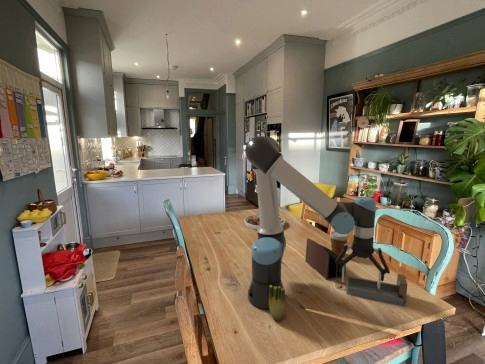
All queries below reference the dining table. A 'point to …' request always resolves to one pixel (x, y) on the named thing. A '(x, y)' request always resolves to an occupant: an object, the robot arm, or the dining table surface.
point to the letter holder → (323, 260)
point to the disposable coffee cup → (338, 242)
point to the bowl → (258, 221)
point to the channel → (379, 290)
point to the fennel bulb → (277, 302)
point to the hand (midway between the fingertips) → (360, 283)
